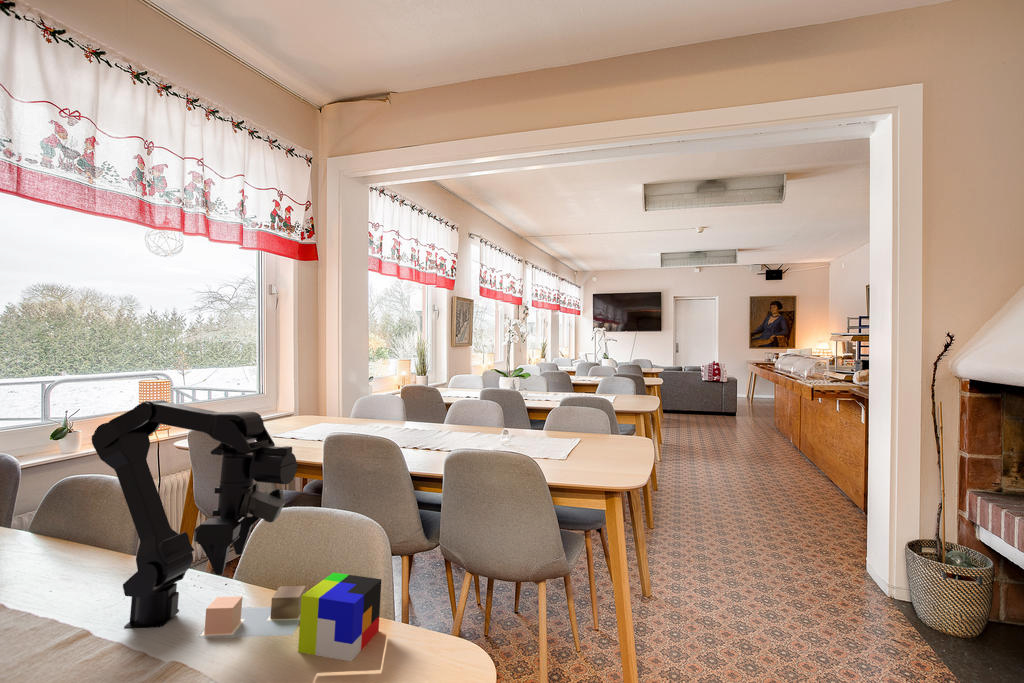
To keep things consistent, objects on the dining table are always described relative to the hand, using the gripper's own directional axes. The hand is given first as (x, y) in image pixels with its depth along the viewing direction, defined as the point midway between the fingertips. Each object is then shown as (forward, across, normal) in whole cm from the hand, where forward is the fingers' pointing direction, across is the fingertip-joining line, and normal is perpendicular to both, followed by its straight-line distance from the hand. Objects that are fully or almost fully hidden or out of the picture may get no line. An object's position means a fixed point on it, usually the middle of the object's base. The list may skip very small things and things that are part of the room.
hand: (229, 563), depth 93 cm
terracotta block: (+11, 0, 0) cm, 11 cm away
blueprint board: (+12, +2, -5) cm, 13 cm away
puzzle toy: (+12, -7, -22) cm, 26 cm away
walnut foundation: (+11, +5, -10) cm, 16 cm away
